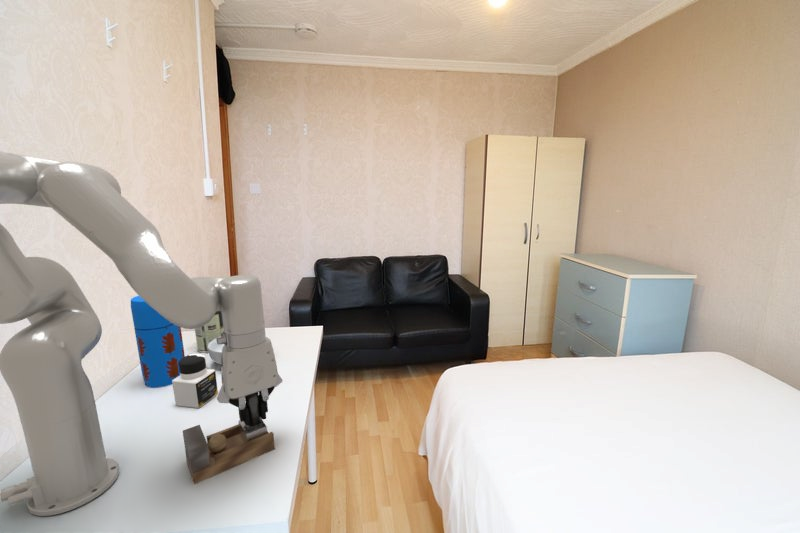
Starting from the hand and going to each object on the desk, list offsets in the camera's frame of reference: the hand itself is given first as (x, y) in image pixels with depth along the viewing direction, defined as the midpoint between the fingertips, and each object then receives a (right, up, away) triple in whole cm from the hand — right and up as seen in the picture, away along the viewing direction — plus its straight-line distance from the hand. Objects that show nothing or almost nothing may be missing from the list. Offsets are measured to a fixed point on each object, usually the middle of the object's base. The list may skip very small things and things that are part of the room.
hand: (254, 418), depth 77 cm
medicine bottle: (-22, -3, +19) cm, 29 cm away
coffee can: (-35, +3, +53) cm, 63 cm away
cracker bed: (-4, -7, -2) cm, 8 cm away
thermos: (-38, -1, +30) cm, 49 cm away
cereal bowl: (-21, +1, +41) cm, 46 cm away
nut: (-6, -5, -4) cm, 8 cm away
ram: (0, -4, 0) cm, 4 cm away
